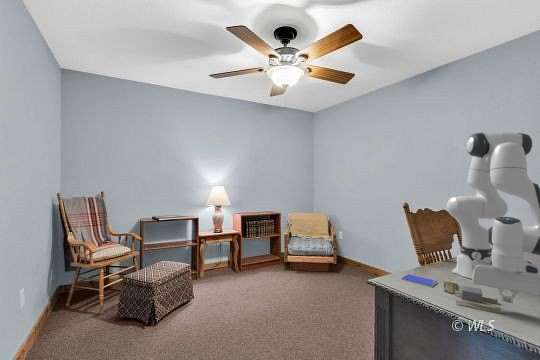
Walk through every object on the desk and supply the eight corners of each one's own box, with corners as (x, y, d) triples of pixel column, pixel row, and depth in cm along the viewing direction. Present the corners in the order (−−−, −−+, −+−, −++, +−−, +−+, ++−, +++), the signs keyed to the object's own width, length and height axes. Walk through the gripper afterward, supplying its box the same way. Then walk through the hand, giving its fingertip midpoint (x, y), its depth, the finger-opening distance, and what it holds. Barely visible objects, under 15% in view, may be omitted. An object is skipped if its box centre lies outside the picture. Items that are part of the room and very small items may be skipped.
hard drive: (437, 280, 125) (408, 273, 134) (431, 284, 119) (401, 277, 128) (437, 284, 125) (408, 277, 134) (431, 288, 119) (401, 280, 128)
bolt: (447, 282, 126) (447, 275, 126) (453, 283, 125) (453, 276, 125) (447, 292, 114) (447, 284, 114) (452, 293, 113) (452, 285, 113)
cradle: (444, 289, 117) (444, 279, 117) (496, 299, 107) (496, 288, 107) (442, 301, 105) (442, 290, 105) (500, 313, 96) (501, 301, 96)
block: (461, 298, 109) (461, 285, 109) (480, 302, 106) (481, 288, 106) (462, 303, 104) (462, 290, 104) (482, 307, 101) (482, 294, 101)
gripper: (472, 260, 102) (471, 297, 102) (548, 270, 91) (548, 312, 91) (471, 256, 107) (470, 292, 107) (543, 265, 96) (543, 305, 96)
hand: (507, 301), depth 99 cm, fingers closed
